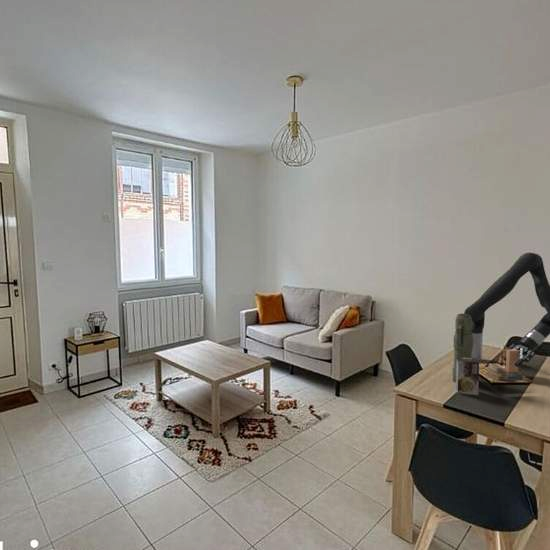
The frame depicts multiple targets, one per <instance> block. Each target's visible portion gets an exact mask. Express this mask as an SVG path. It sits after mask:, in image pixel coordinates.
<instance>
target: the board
mask: <svg viewBox="0 0 550 550" xmlns="http://www.w3.org/2000/svg"><path fill="white" fill-rule="evenodd" d="M505 352H506V353H505V355H506V361H505V370H506V371H508V372H509V373H519V366H518V367H517V366H515V365H514V363H515V362H516V361H517V360H518V359H520V355H519V350H516V349H511V350H507V349H506V350H505Z"/></svg>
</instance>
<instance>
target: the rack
mask: <svg viewBox="0 0 550 550" xmlns="http://www.w3.org/2000/svg"><path fill="white" fill-rule="evenodd" d="M505 371H506V369H505ZM484 374H485V375H487V376H488V377H490V378H492V379H493V380H496V381H497V382H509V381H510V382H511V381H512V382H515V381H516V382H517V381H529V378H525V377H524V373H523V372H518V373H509V376H508V380H497V379H495V378H493V377H492V376H490V375H488V374H487V372H486V373H484Z"/></svg>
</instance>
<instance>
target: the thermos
mask: <svg viewBox="0 0 550 550" xmlns="http://www.w3.org/2000/svg"><path fill="white" fill-rule="evenodd" d="M455 317H456V318H455V322H454V323H455V324H454V325H455V327H454V329H455V332H454V335H453V349H454V355H453V357H454V359H453V367H452V381H453V382H454V383H456V357H466V358H471V357H472V349H473V337H472V318H471V316H470V315H469V314H464V313H458V314H457V315H456V316H455Z"/></svg>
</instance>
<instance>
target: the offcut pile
mask: <svg viewBox="0 0 550 550" xmlns="http://www.w3.org/2000/svg"><path fill="white" fill-rule="evenodd" d="M505 370H506V367H504V366H503V365H501V364H499V363H497V362H496V363H492V362H491V363H488V367H487V370H486V371H487V372H486V373H487V374H488V375H490V376H492V377H493V378H492V377H491V378H492V379H494V378H495V379H497V380H508V376H509V372H508V371H505ZM488 375H487V376H488ZM490 376H489V377H490ZM495 379H494V380H495ZM497 380H496V381H497Z"/></svg>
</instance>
